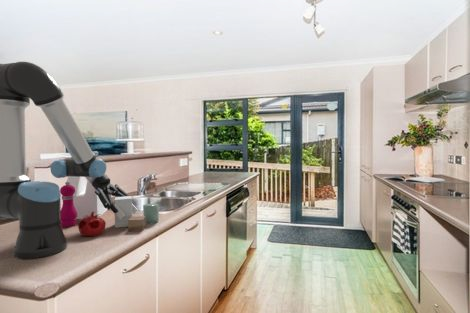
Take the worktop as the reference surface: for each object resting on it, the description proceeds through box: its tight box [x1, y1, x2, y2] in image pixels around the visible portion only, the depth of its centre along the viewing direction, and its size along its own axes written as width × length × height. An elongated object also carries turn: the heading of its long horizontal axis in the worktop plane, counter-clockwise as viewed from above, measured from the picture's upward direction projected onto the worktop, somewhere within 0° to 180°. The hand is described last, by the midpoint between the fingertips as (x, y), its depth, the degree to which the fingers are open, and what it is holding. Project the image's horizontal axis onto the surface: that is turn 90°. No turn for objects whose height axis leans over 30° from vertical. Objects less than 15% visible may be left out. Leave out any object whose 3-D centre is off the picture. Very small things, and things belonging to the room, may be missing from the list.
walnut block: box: [127, 215, 147, 232], centre depth 122 cm, size 6×6×5 cm
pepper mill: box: [59, 181, 77, 228], centre depth 128 cm, size 7×7×20 cm
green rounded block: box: [142, 203, 160, 224], centre depth 133 cm, size 7×7×8 cm
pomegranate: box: [77, 212, 107, 237], centre depth 114 cm, size 10×10×9 cm
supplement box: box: [113, 195, 133, 229], centre depth 128 cm, size 7×7×13 cm
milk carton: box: [66, 176, 109, 220], centre depth 148 cm, size 19×15×25 cm
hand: (129, 214), depth 127 cm, fingers closed on supplement box, 10 cm apart
